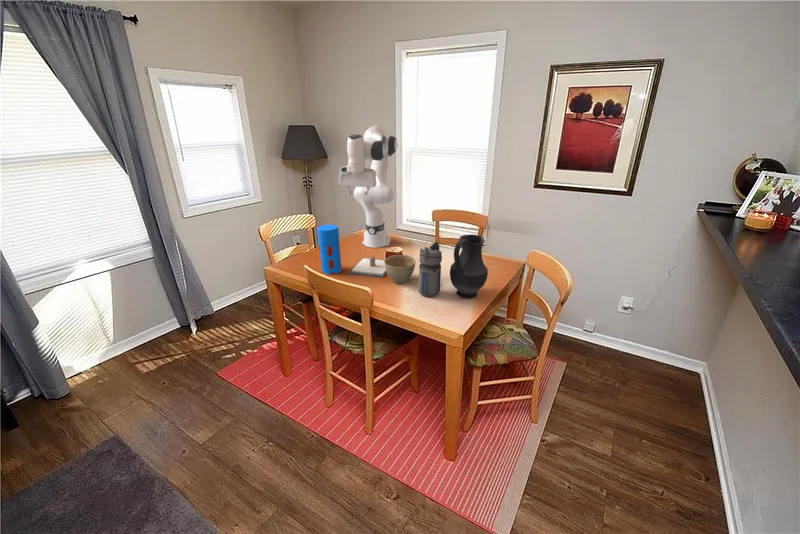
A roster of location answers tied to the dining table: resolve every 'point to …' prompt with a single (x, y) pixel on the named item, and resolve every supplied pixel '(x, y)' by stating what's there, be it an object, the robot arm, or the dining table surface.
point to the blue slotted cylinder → (329, 249)
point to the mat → (367, 273)
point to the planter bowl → (399, 267)
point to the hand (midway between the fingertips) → (358, 194)
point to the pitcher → (468, 266)
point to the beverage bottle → (430, 271)
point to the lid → (370, 266)
